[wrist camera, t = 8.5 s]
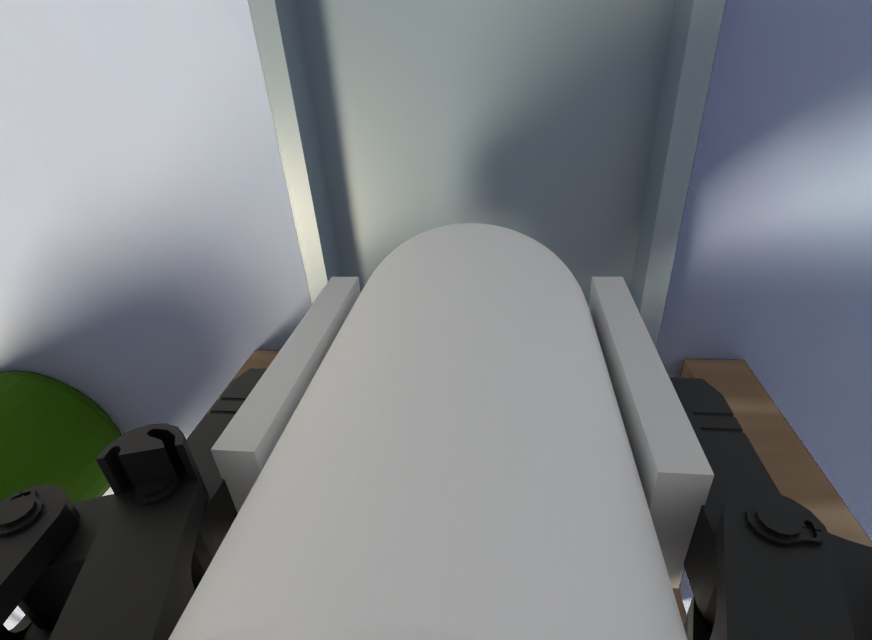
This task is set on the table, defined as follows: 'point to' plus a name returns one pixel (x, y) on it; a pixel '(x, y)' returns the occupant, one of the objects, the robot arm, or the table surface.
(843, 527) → the small wooden table
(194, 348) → the table surface
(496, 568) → the beverage can
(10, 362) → the table surface
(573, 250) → the tray
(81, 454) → the wine bottle
